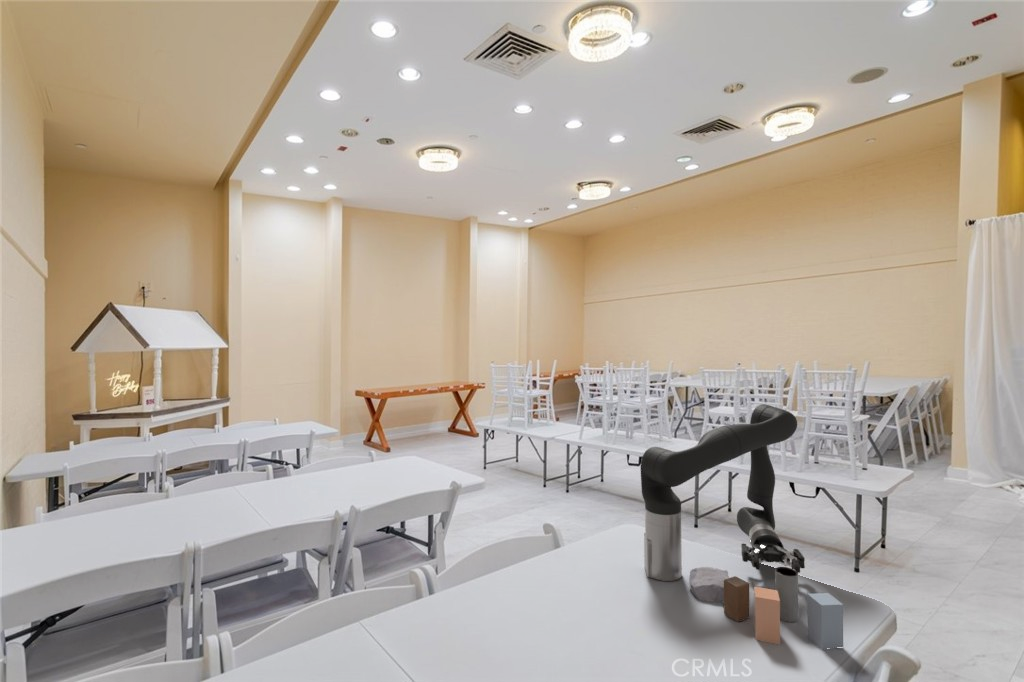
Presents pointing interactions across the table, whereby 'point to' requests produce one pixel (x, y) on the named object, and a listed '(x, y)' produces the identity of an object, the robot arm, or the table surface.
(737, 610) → the wooden block
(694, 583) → the stone block
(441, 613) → the table surface
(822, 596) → the slate-blue block
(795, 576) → the planter
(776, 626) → the terracotta block
